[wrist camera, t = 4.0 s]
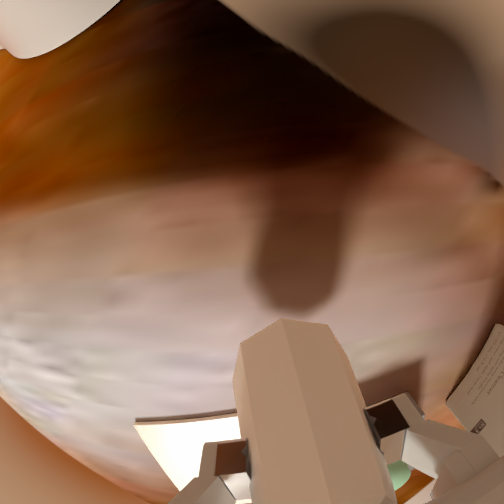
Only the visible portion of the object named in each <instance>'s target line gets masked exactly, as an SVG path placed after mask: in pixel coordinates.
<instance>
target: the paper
mask: <svg viewBox="0 0 504 504" xmlns="http://www.w3.org/2000/svg"><path fill="white" fill-rule="evenodd" d="M134 427H135V428H136V430H137V432H138V433H139V435H140V436H141V438H142V439H143V441H144V442H145V444H146V445H147V447H148V448H149V450H150V451H151V453H152V454H153V456H154V457H155V459H156V460H157V461H158V463H159V464H160V466H161V467H162V468H163V470H164V471H165V473H166V474H167V475H168V476H169V478H170V479H171V480H172V482H173V483H174V484H175V486H176V487H177V488H178V489H179V491H181V490H182V489H183V488H184V487H185V486H186V485H187V484H188V483H189V482H190V481H191V480H192V479H193V478H194V477H198V476H199V469H200V462H201V456H202V449H203V445H204V443H205V442H214V441H223V440H233V439H241V436H240V429H239V423H238V416H237V413H233V414H226V415H219V416H211V417H203V418H194V419H183V420H170V421H153V422H135V424H134ZM244 503H252V501H251V499H245V500H236V503H235V504H244Z"/></svg>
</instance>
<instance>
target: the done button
mask: <svg viewBox="0 0 504 504" xmlns="http://www.w3.org/2000/svg"><path fill="white" fill-rule="evenodd" d="M401 460H402V459H401ZM401 460H399V461H396V462H394V463H391V464H389V465H387V468H388V471H389V474H390V477H391V480H392V483H393V487H394V491H395V490H397V489H398V488H400V487H401V486H402V485H403V484H404V483H405V482H406V481H407V480H408V479H409V477H410V475H411V471H410V469H409V467H408V466H407V464H406V463H405V462H403V461H401Z"/></svg>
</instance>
